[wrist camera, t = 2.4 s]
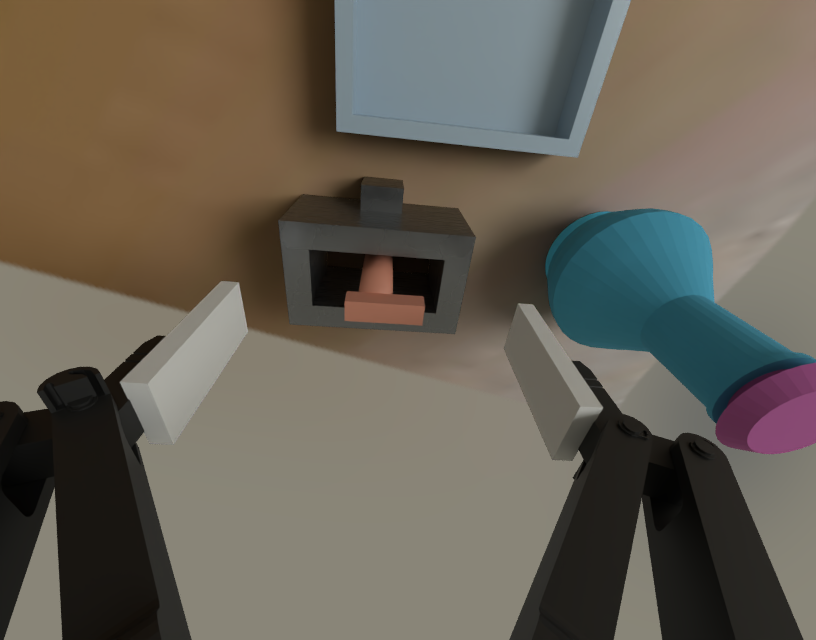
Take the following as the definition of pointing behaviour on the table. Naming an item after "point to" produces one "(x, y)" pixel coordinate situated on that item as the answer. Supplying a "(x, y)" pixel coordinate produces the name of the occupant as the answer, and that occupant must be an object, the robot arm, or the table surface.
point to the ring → (379, 235)
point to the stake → (382, 296)
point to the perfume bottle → (680, 323)
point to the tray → (474, 70)
